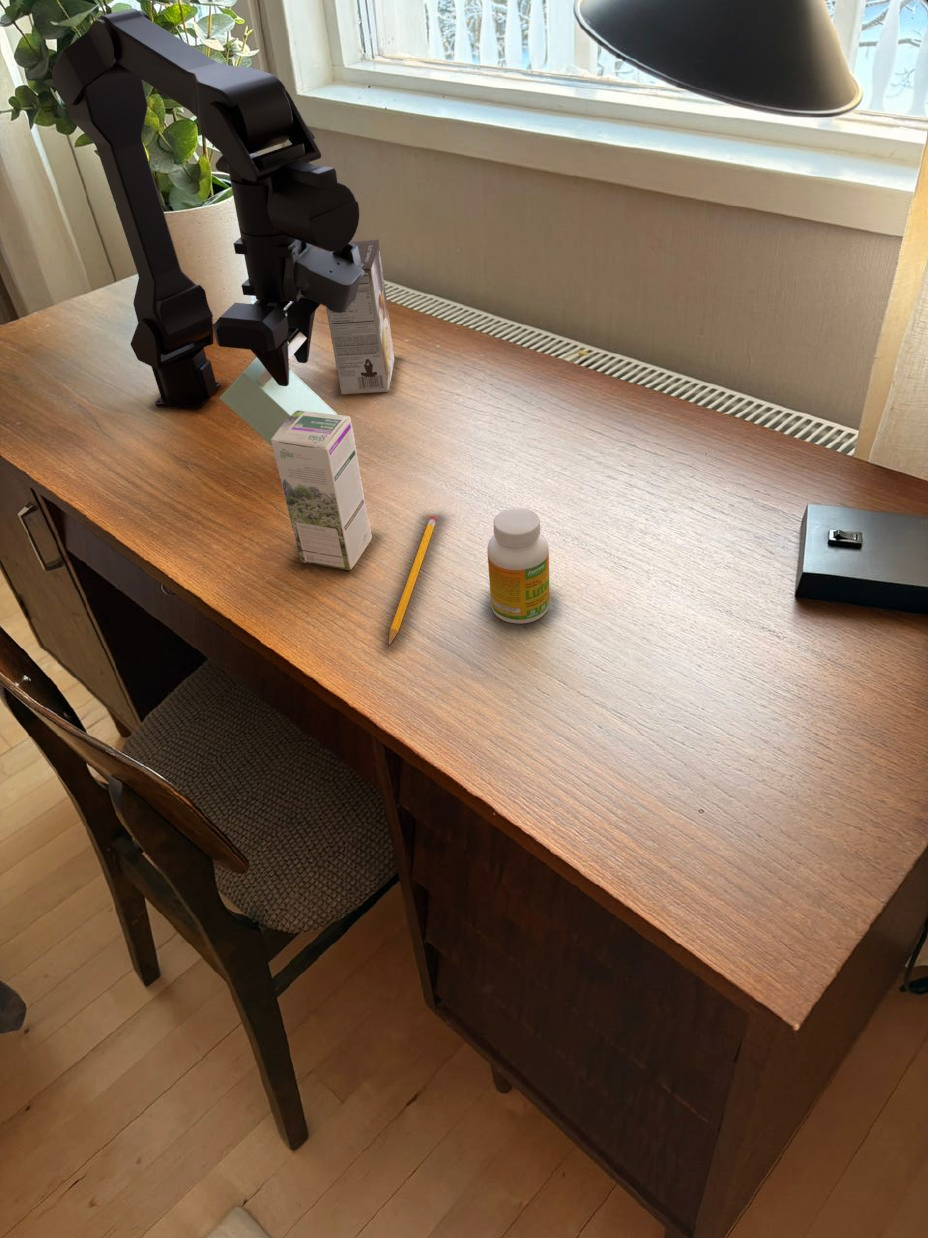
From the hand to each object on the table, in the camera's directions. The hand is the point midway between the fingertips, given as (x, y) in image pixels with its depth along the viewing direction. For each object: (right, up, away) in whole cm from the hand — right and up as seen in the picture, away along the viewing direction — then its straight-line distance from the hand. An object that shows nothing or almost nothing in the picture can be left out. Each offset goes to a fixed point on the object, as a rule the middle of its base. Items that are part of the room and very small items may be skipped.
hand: (293, 373), depth 101 cm
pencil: (+13, -23, -10) cm, 28 cm away
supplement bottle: (+24, -25, -14) cm, 38 cm away
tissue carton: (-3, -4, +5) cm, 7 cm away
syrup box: (+6, -20, -6) cm, 21 cm away
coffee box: (+6, +5, +21) cm, 23 cm away
